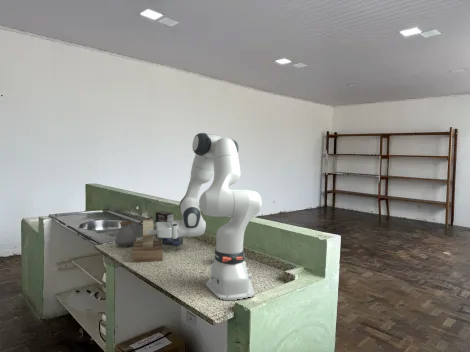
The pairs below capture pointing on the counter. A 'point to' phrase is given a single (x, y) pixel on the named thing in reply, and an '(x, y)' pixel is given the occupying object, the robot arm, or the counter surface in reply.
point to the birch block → (147, 237)
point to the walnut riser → (147, 252)
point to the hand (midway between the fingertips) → (147, 229)
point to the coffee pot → (127, 234)
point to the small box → (172, 241)
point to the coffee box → (163, 218)
